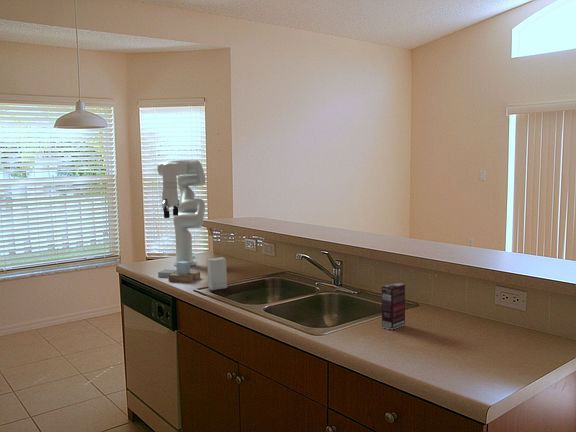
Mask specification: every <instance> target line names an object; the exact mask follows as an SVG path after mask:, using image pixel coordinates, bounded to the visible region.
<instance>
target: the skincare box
mask: <svg viewBox="0 0 576 432" xmlns="http://www.w3.org/2000/svg"><path fill="white" fill-rule="evenodd" d="M206 263H207V264H206V267H207V282H208V283H207V284H208V286H207V287H208V289H210V290H211V291H216V290H223V289H227V288H228V274H227V269H228V268H227V259H226V258H225V257H223V256H220V257H219V256H218V257H213V258H207V259H206Z"/></svg>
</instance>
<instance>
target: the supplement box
mask: <svg viewBox="0 0 576 432" xmlns="http://www.w3.org/2000/svg"><path fill="white" fill-rule="evenodd" d="M404 325H405V326H406V284H405V283H402V282H392V283H388V284H385V285H381V328H382V327H384V328H387V329H386V330H388V329H391V330H390V331H394V330H393V329H395V330H397V329H399V327H400V328H402V327H404ZM401 326H402V327H401ZM384 328H383V329H384ZM396 328H397V329H396Z"/></svg>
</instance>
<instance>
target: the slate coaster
mask: <svg viewBox="0 0 576 432" xmlns="http://www.w3.org/2000/svg"><path fill="white" fill-rule="evenodd" d="M175 272H177V269H164V270H160V271H158V272H157V274H158V275H157V276H158V278H164V277H168V275H170V274H172V273H175Z"/></svg>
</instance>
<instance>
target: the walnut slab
mask: <svg viewBox="0 0 576 432" xmlns="http://www.w3.org/2000/svg"><path fill="white" fill-rule="evenodd" d="M168 277H169V278H168V282H169V281H172V282H171V283H179V282H182V283H183V284H184V283H185V284H190V283H193V282H195V281H197V280H200V279H201V271H196V270H190V273H188V274H186V275H183V274H177V272H175V273H172V274H170V275H168ZM182 283H181V284H182Z"/></svg>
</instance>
